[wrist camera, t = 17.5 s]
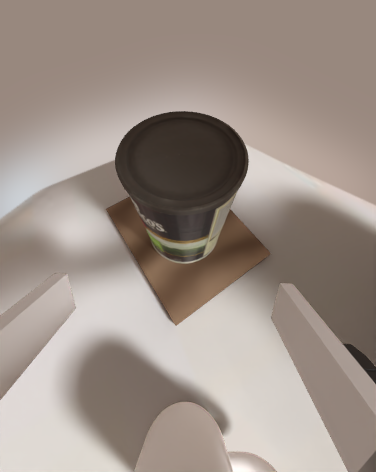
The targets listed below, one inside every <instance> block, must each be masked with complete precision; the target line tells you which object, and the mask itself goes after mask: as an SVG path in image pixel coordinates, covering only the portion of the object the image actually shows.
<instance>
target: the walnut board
mask: <svg viewBox="0 0 376 472" xmlns="http://www.w3.org/2000/svg"><path fill="white" fill-rule="evenodd" d="M106 210H107V212H108V213H109V215H110V217H111V218H112V220H113V222H114V223H115V225H116V227H117V228H118V230H119V232H120V233H121V235H122V237H123V238H124V240H125V242H126V243H127V245H128V247H129V249H130V250H131V252H132V254H133V255H134V257H135V259H136V260H137V262H138V264H139V265H140V267H141V269H142V270H143V272H144V274H145V275H146V277H147V279H148V280H149V282H150V284H151V285H152V287H153V289H154V290H155V292H156V294H157V295H158V297H159V299H160V300H161V302H162V304H163V305H164V307H165V309H166V310H167V312H168V314H169V315H170V317H171V319H172V320H173V322H174V324H175V325H178V324H179V323H180V322H182V321H183V320H184V319H186V318H187V317H188V316H190V315H191V314H192V313H193V312H195V311H196V310H197V309H199V308H200V307H201V306H203V305H204V304H205V303H207V302H208V301H209V300H211V299H212V298H213V297H215V296H216V295H217V294H218V293H220V292H221V291H222V290H224V289H225V288H226V287H228V286H229V285H230V284H232V283H233V282H234V281H236V280H237V279H238V278H240V277H241V276H242V275H244V274H245V273H246V272H247V271H249V270H250V269H251V268H253V267H254V266H255V265H257V264H258V263H259V262H261V261H262V260H263V259H265V258H266V257H267V256H269V255H270V254H271V253H270V252H269V251H268V250H267V249H266V248H265V247H264V246H263V244H262V243H261V242H260V241H259V240H258V239H257V238H256V237H255V236H254V235H253V234H252V232H251V231H250V230H249V229H248V228H247V227H246V226H245V225H244V224H243V223H242V222H241V220H240V219H239V218H238V217H237V216H236V215H235V214H234V213H233V212H232V211H231V210H229V213H228V215H227V218H226V220H225V223H224V225H223V227H222V230H221V232H220V235H219V237H218V241H217V243H216V246H215V247H214V249H213V250H212V251H211V253H210V254H209V255H207V256H206V257H205V258H203V259H201V260H199V261H197V262H193V263H187V264H181V263H175V262H172V261H169V260H167V259H165V258H164V257H162V256H161V255H160V254H159V253H158V252H157V251H156V250H155V248H154V247H153V244H152V242H151V239H150V237H149V235H148V233H147V231H146V228H145V226H144V224H143V222H142V220H141V218H140V216H139V214H138V212H137V210H136V208H135V206H134V204H133V202H132V200H131V198H130V197H128V198H126V199H124V200H122V201H120V202H119V203H117V204H115V205H113V206H111V207H109V208H107V209H106Z"/></svg>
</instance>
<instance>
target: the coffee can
mask: <svg viewBox="0 0 376 472" xmlns="http://www.w3.org/2000/svg"><path fill="white" fill-rule="evenodd" d="M248 162H249V161H248V153H247V149H246V146H245V144H244V142H243V140H242V139H241V137H240V136H239V135H238V133H237V132H235V130H234V129H233V128H231V127H230V126H229V125H227V124H226V123H224V122H223V121H221V120H219V119H217V118H214V117H212V116H209V115H205V114H201V113H196V112H185V111H184V112H169V113H163V114H160V115H156V116H153V117H151V118H148V119H146V120H144V121H142V122H140V123H139V124H138V125H136V126H134V127H133V128H132V129H131V130H130V131H129V132H128V133H127V134H126V135H125V137H124V138H123V139H122V141H121V143H120V145H119V147H118V149H117V152H116V157H115V166H116V171H117V174H118V177H119V179H120V181H121V183H122V185H123V187H124V188H125V190H126V191H127V192H128V193H129V196H130V198H131V200H132V202H133V204H134V206H135V208H136V210H137V212H138V214H139V216H140V218H141V220H142V222H143V224H144V226H145V228H146V231H147V233H148V235H149V237H150V239H151V242H152V244H153V247H154V248H155V250H156V251H157V252H158V253H159V254H160V255H161V256H162V257H164V258H165V259H167V260H169V261H172V262H175V263H181V264H187V263H193V262H197V261H199V260H201V259H203V258H205V257H206V256H207V255H209V254H210V253H211V251H212V250H213V249H214V247H215V246H216V243H217V241H218V237H219V235H220V232H221V230H222V227H223V225H224V223H225V220H226V218H227V215H228V213H229V210H230V208H231V205H232V203H233V200H234V198H235V195H236V193H237V191H238V189H239V188H240V186H241V184H242V182H243V181H244V178H245V176H246V173H247V170H248Z"/></svg>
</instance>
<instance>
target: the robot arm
mask: <svg viewBox="0 0 376 472" xmlns="http://www.w3.org/2000/svg"><path fill="white" fill-rule="evenodd" d="M75 309H76V306H75V302H74V298H73V295H72V291H71V287H70V283H69V279H68V275H67V274H64V273H55V274H53V275H52V276H51V277H49V278H48V279H47V280H46V281H44V282H43V283H42V284H40V285H39V286H38V287H37V288H35V289H34V290H33V291H31V292H30V293H29V294H28V295H26V296H25V297H24V298H23V299H21V300H20V301H19V302H17V303H16V304H15V305H14V306H12V307H11V308H10V309H8V310H7V311H6V312H5V313H3V314H2V315H1V316H0V400H1V399H2V398H3V396H4V395H5V394H6V393H7V391H8V390H9V389H10V388H11V387H12V385H13V384H14V383H15V382H16V381H17V379H18V378H19V377H20V376H21V374H22V373H23V372H24V371H25V370H26V368H27V367H28V366H29V365H30V364H31V362H32V361H33V360H34V359H35V357H36V356H37V355H38V354H39V353H40V351H41V350H42V349H43V348H44V347H45V345H46V344H47V343H48V342H49V340H50V339H51V338H52V337H53V336H54V334H55V333H56V332H57V331H58V330H59V328H60V327H61V326H62V325H63V323H64V322H65V321H66V320H67V319H68V317H69V316H70V315H71V314H72V313H73V311H74V310H75ZM271 319H272V321H273V323H274V325H275V327H276V329H277V331H278V333H279V335H280V337H281V339H282V341H283V343H284V345H285V347H286V349H287V351H288V353H289V355H290V357H291V359H292V361H293V363H294V365H295V367H296V369H297V371H298V373H299V375H300V377H301V379H302V381H303V383H304V385H305V387H306V389H307V391H308V393H309V395H310V397H311V399H312V401H313V403H314V405H315V407H316V409H317V411H318V413H319V415H320V417H321V419H322V421H323V423H324V425H325V427H326V429H327V431H328V433H329V435H330V437H331V439H332V441H333V443H334V445H335V447H336V449H337V451H338V453H339V455H340V457H341V459H342V461H343V463H344V465H345V467H346V469H347V471H348V472H376V367H375V366H374V365H373V364H372V362H371V361H370V360H369V359H368V358H367V357H366V356H365V355H364V354H363V353H361V352H360V351H359V350H357V349H356V348H355V347H354V346H352V345H351V344H342V343H341V341H340V340H339V339H338V338H337V337H336V335H335V334H334V333H333V332H332V331H331V329H330V328H329V327H328V326H327V325H326V323H325V322H324V321H323V320H322V318H321V317H320V316H319V315H318V314H317V312H316V311H315V310H314V309H313V308H312V306H311V305H310V304H309V303H308V301H307V300H306V299H305V298H304V297H303V295H302V294H301V293H300V292H299V291H298V289H297V288H296V287H295V286H294V285H293V284H291V283H280V285H279V289H278V293H277V296H276V300H275V304H274V308H273V312H272V316H271Z"/></svg>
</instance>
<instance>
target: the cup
mask: <svg viewBox="0 0 376 472" xmlns="http://www.w3.org/2000/svg"><path fill="white" fill-rule="evenodd" d="M134 472H277V471H276V470H275V469H274V468H273V467H272V466H271V465H270V464H269V463H268V462H267V461H266V460H264V459H263V458H261V457H259V456H257V455H255V454H252V453H248V452H228V451H227V448H226V445H225V442H224V438H223V436H222V433H221V431H220V428H219V426H218V425H217V423H216V421H215V420H214V418H213V417H212V416H211V414H210V413H209V412H208V411H207V410H205V409H204V408H203V407H201V406H200V405H198V404H195V403H192V402H178V403H174V404H172V405H170V406H168V407H167V408H165V409H164V410H163V411H162V412H161V413H160V414H159V415H158V416H157V417H156V419H155V420H154V422H153V423H152V425H151V427H150V429H149V431H148V433H147V436H146V438H145V441H144V444H143V447H142V450H141V453H140V456H139V459H138V461H137V464H136V467H135V470H134Z"/></svg>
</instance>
